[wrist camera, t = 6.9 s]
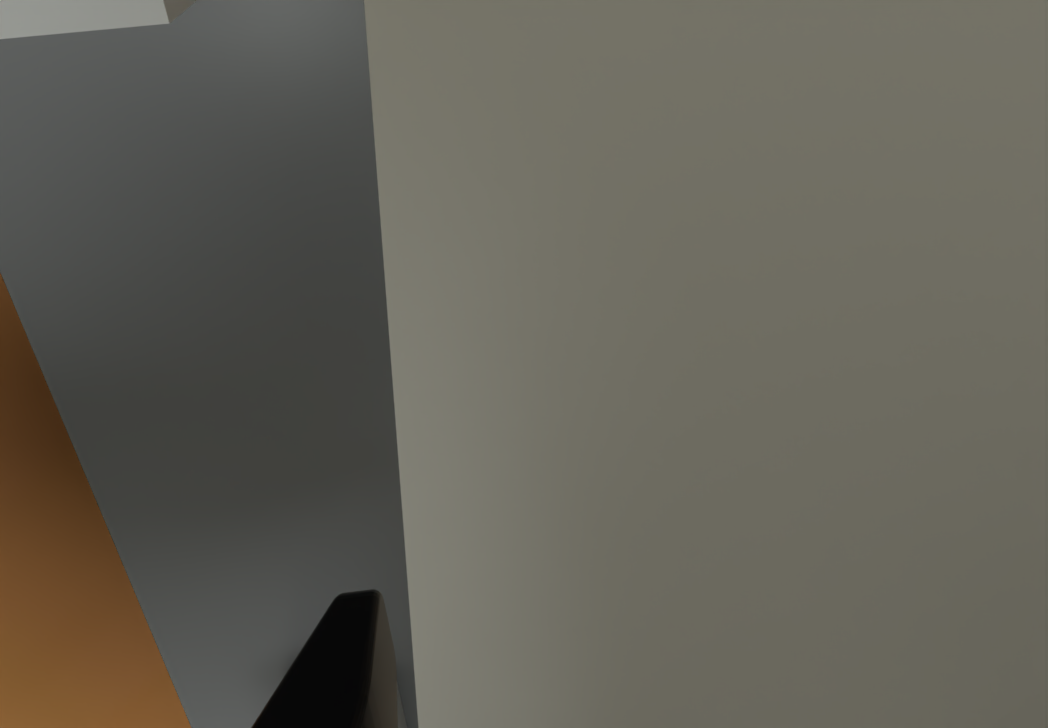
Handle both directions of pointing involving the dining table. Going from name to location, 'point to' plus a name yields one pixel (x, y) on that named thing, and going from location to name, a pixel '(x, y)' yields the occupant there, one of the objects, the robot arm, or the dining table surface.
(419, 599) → the white block
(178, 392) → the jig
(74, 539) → the dining table surface
